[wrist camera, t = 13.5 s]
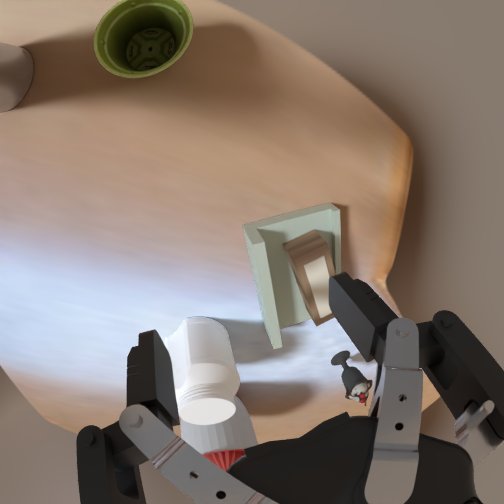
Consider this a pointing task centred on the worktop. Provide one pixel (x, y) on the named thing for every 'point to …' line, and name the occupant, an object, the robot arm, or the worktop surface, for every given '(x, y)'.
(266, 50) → the worktop surface
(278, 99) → the worktop surface
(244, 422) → the citrus juicer
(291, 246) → the frame
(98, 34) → the plant pot
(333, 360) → the sundae
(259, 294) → the ledge
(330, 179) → the worktop surface
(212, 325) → the jar
